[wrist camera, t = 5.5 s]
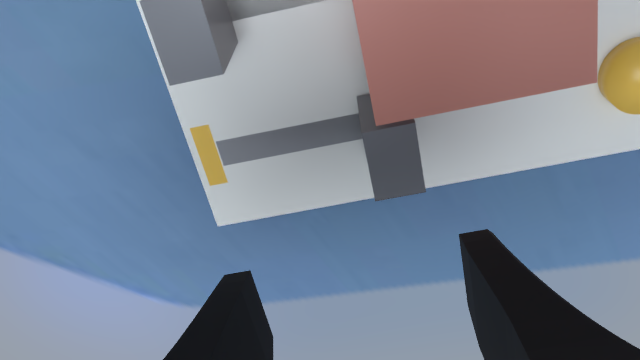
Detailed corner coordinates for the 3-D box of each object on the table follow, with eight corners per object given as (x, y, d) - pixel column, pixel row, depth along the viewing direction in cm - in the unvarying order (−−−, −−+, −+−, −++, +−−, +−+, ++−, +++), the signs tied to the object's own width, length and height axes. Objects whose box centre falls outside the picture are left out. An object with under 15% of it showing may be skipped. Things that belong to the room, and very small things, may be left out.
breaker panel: (716, -225, 17) (833, -248, 13) (686, 123, 22) (762, 180, 18) (121, -78, 19) (69, -60, 15) (222, 210, 24) (203, 278, 20)
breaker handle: (403, 87, 20) (415, 122, 17) (413, 149, 21) (425, 191, 18) (356, 96, 20) (361, 133, 17) (368, 157, 21) (375, 201, 19)
